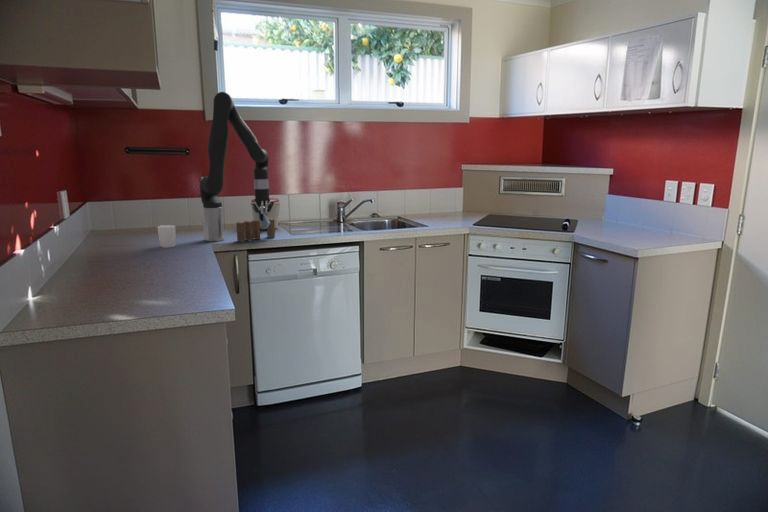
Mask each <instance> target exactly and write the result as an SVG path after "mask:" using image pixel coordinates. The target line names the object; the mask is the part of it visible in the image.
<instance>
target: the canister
mask: <svg viewBox="0 0 768 512" xmlns="http://www.w3.org/2000/svg"><path fill="white" fill-rule="evenodd" d="M269 199H270V201H272V202H274V204H273V206H272V208H271V210H270V212H268V213H267V217H268V218H270V219H274V226H275V229H276V228H277V227H278V225H279V220H280V204H281V200H280V199H278V198H274V197H269ZM253 202H255V198H253V199H251V200H249V204H251V203H253ZM256 205H257V204H256ZM267 206H268V205H267ZM250 208H251V214H252V215H251V216H252V219H253V220H257V221H260V219H259V217H258V215H257V213H256V212H255V210H254V209H253V207H252V206H251V205H250ZM257 208H258V205H257ZM260 229H261V230H262V231H267V230H266V229H264V227H263V225H262V223H261V221H260ZM261 230H260V231H261Z"/></svg>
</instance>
